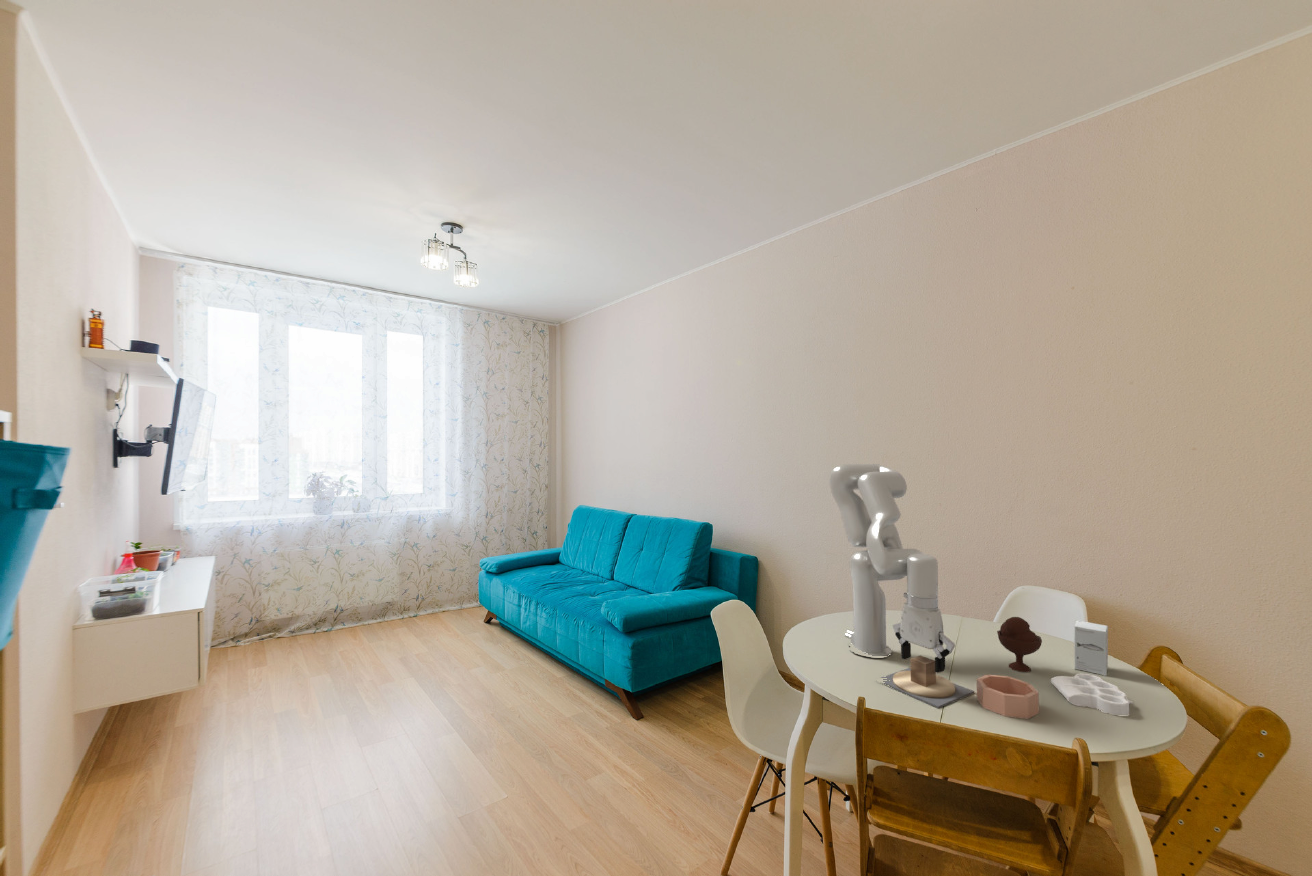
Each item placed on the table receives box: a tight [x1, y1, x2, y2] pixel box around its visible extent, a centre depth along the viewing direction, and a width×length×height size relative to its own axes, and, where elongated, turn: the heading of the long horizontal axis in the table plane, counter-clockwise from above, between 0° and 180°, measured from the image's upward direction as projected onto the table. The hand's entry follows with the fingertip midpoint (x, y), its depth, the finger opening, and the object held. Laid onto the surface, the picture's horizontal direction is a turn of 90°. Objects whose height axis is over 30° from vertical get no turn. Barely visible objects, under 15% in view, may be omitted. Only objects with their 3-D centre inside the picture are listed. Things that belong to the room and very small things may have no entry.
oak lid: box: [893, 655, 955, 698], centre depth 145 cm, size 15×15×7 cm
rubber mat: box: [880, 666, 975, 709], centre depth 145 cm, size 18×16×1 cm
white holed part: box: [1050, 673, 1135, 716], centre depth 138 cm, size 3×18×15 cm
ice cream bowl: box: [996, 616, 1043, 673], centre depth 157 cm, size 11×11×15 cm
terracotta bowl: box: [976, 674, 1040, 719], centre depth 135 cm, size 12×12×5 cm
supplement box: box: [1073, 620, 1109, 677], centre depth 156 cm, size 7×7×13 cm
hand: (922, 664), depth 146 cm, fingers open, 9 cm apart
